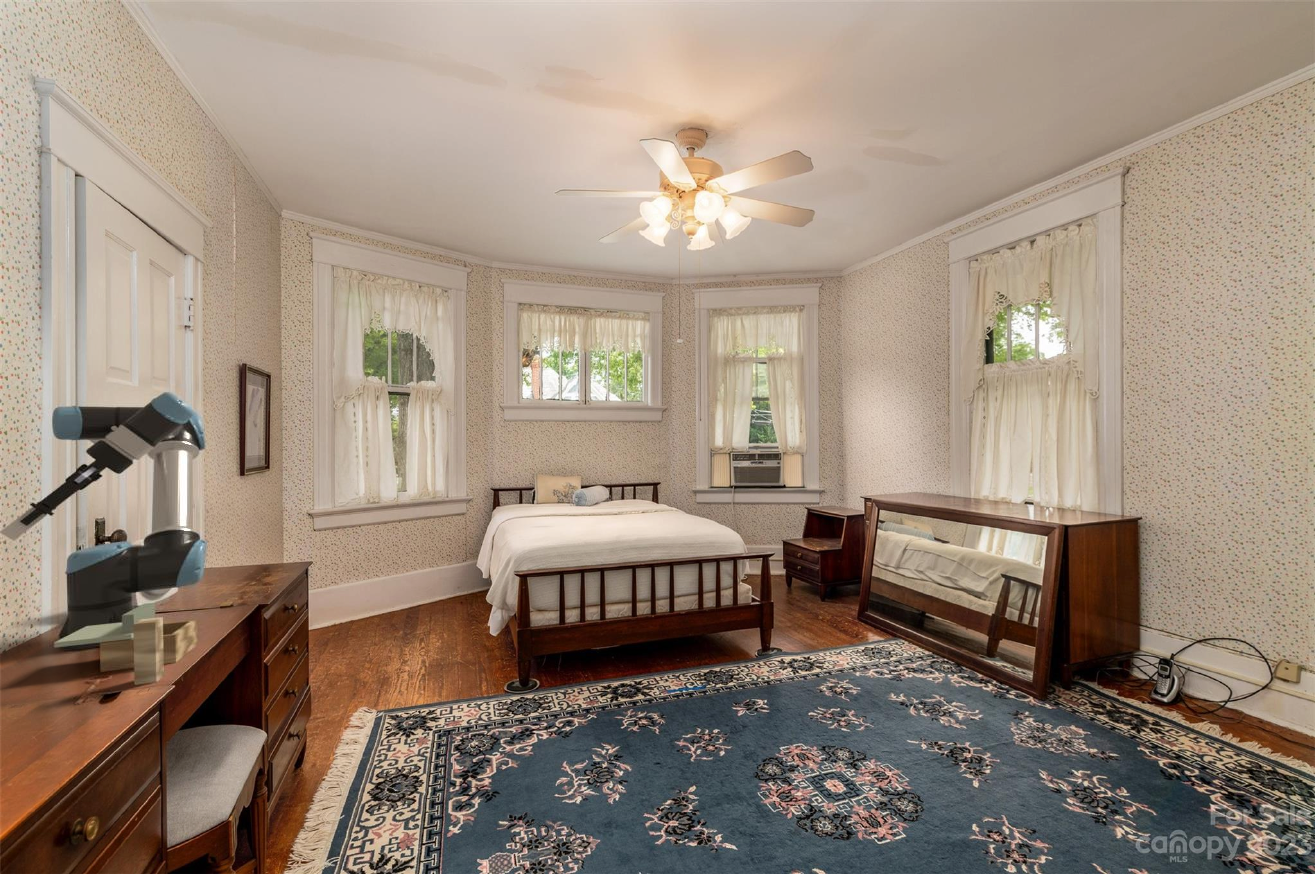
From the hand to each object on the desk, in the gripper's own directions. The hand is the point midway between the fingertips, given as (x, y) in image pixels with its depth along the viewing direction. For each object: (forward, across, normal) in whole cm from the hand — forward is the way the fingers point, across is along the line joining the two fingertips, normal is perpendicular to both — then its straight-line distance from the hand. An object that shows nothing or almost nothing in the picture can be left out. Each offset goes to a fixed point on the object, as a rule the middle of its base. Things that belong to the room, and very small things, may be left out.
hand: (7, 536), depth 117 cm
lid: (+7, -4, +27) cm, 28 cm away
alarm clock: (+7, -59, +36) cm, 69 cm away
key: (+12, +14, +31) cm, 36 cm away
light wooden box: (+6, -1, +36) cm, 37 cm away
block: (+6, +16, +36) cm, 40 cm away
